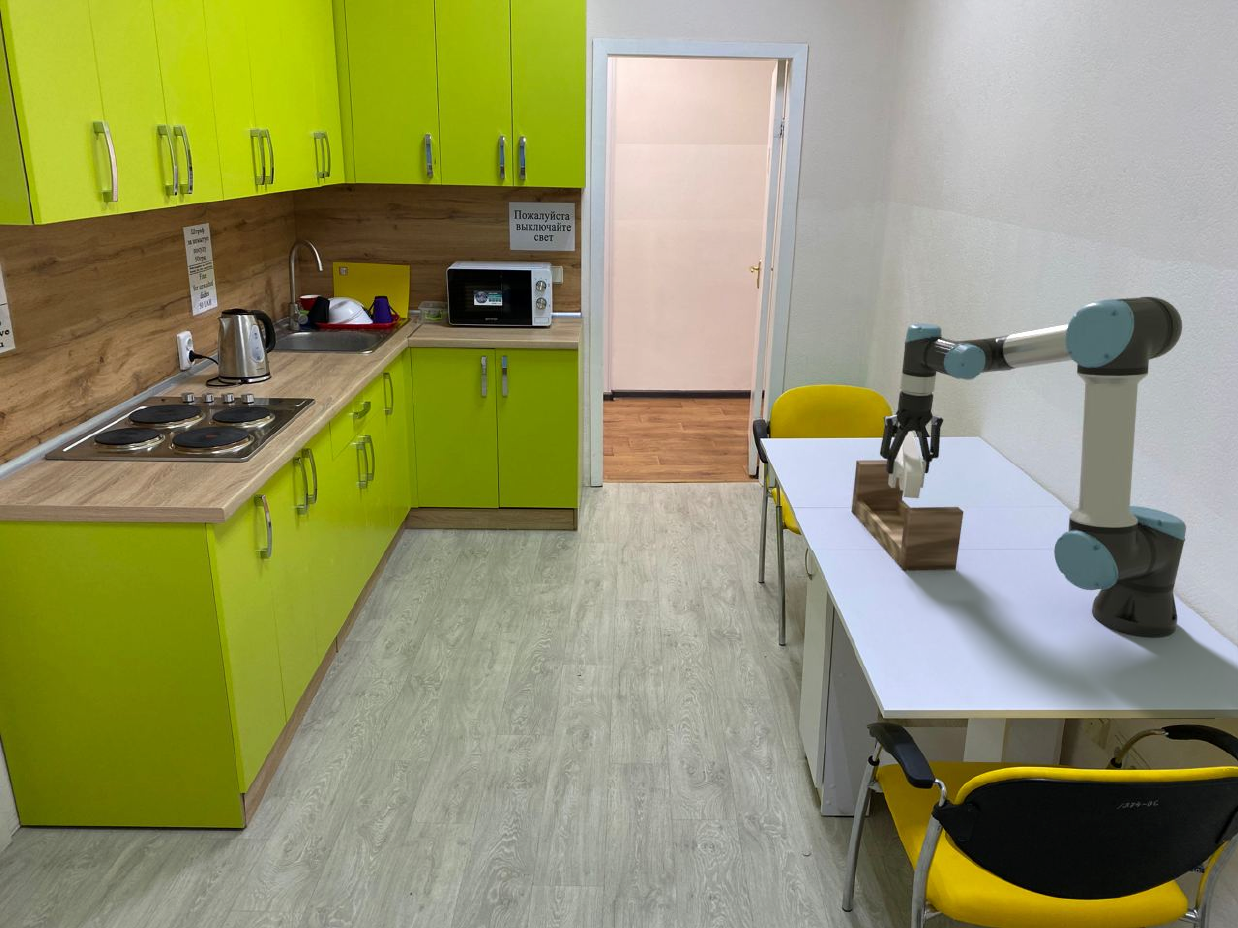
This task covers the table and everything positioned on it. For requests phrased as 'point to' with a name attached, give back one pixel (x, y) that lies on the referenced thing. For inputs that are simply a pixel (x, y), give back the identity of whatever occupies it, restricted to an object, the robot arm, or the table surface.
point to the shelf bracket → (909, 467)
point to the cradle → (905, 522)
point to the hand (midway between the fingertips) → (905, 485)
